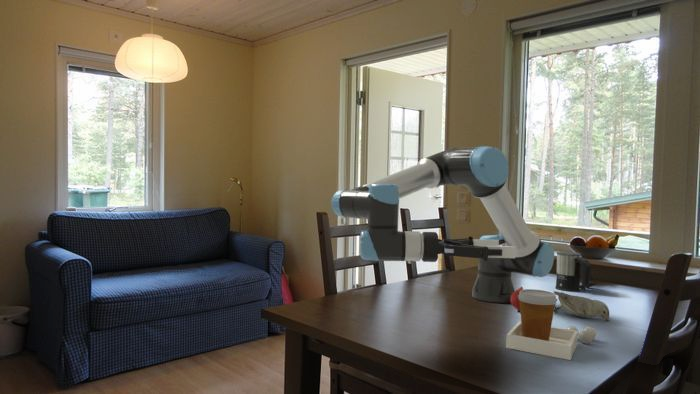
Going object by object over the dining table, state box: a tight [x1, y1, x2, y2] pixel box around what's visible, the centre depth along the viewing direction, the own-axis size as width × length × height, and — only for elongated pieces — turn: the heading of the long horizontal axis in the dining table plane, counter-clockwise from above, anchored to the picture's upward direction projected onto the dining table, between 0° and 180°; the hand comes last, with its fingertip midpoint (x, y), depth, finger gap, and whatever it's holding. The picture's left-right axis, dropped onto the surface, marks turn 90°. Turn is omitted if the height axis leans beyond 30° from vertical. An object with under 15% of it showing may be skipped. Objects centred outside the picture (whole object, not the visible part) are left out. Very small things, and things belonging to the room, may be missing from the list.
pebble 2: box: [578, 330, 594, 344], centre depth 125 cm, size 3×3×3 cm
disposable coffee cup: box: [518, 288, 558, 341], centre depth 124 cm, size 10×10×12 cm
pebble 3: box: [582, 326, 597, 341], centre depth 128 cm, size 3×3×3 cm
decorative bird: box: [553, 290, 610, 322], centre depth 152 cm, size 5×16×8 cm, turn 60°
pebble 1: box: [566, 326, 580, 336], centre depth 128 cm, size 3×3×3 cm
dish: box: [505, 321, 579, 361], centre depth 121 cm, size 15×15×3 cm
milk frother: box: [555, 251, 599, 292], centre depth 197 cm, size 14×16×15 cm
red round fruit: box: [510, 286, 524, 312], centre depth 157 cm, size 6×6×8 cm
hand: (506, 248), depth 121 cm, fingers open, 13 cm apart
